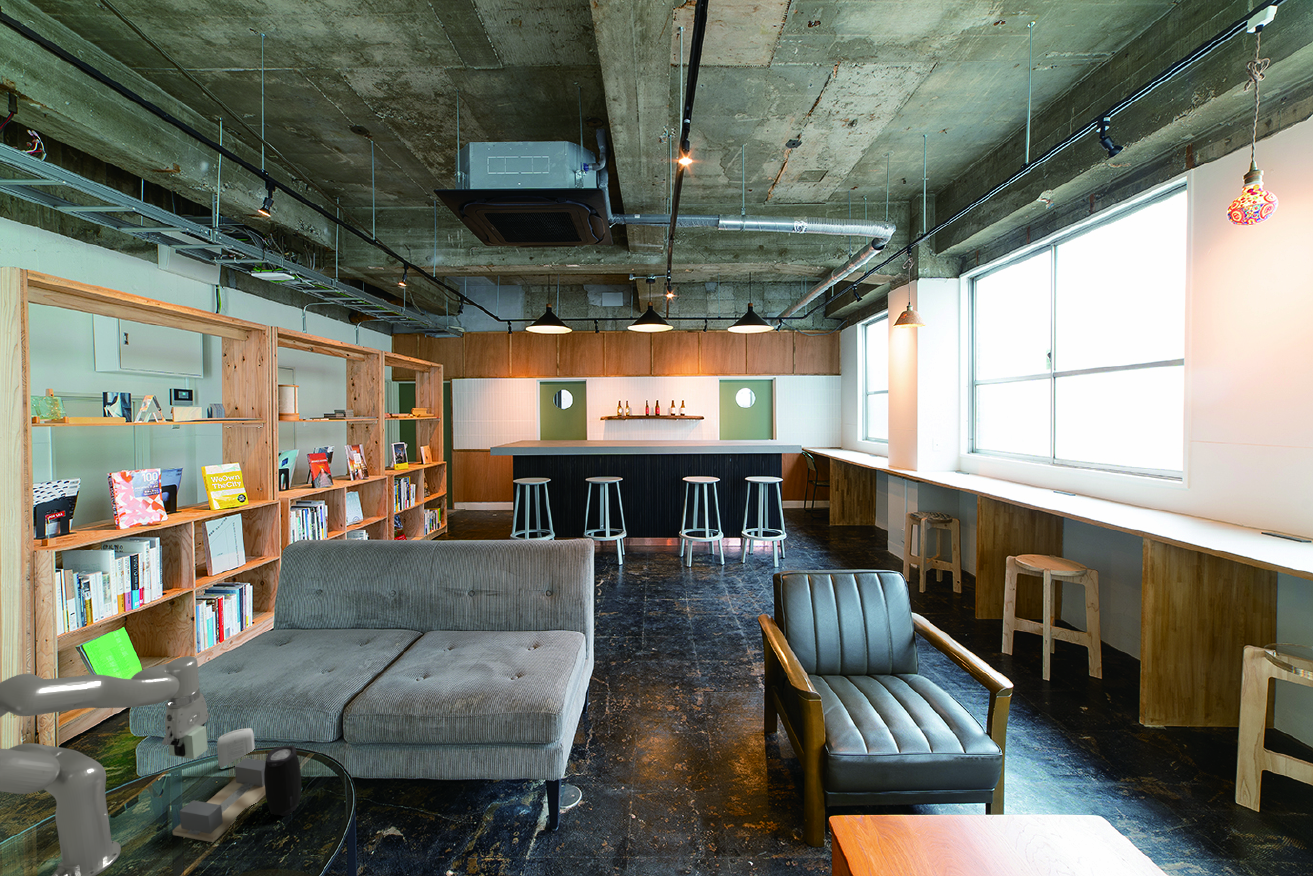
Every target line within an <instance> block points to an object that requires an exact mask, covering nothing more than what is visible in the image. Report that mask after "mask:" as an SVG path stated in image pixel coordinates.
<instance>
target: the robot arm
mask: <svg viewBox="0 0 1313 876" xmlns="http://www.w3.org/2000/svg"><path fill="white" fill-rule="evenodd" d="M199 679H200V678H199V666H198V660H197V658H196V657H194V656H191V655H186V656H181V657H177V658H174V659H173V660H171V661H169V662H166V663H163V664H159V665H154V666H150V667H148V668H145V669H142V670H140V671H138V672H136V673H134V675H133V676H132V677H131V678H122V677H116V676H110V675H106V674H95V673H94V674H85V675H78V676H77V675H76V676H68V677H67V676H66V677H56V678H42V677H40V676H38V675H35V674H33V673H21V674H17V675H13V676H11V677H9V678H7V679H5V680H2V681H1V682H0V718H2V717H3V716H4V715H6V714H8V713H10V714H12V715H14V716H18V717H33V716H40V715H46V714H53V713H59V712H60V713H61V712H68V711H74V710H81V709H111V708H112V709H113V708H114V709H120V708H121V709H123V708H124V709H126V708H138V707H144V706H151V705H157V704H160V703H161V704H162V703H164V702H166V701H167V702H166V703H165V704H164V706H165V708H166V711H165V718H164V730H165V736H164V738H163V740H162V742H161V745H163V746H169V745H174V753H175V755H176V756H175V757H177V756H181V757H180V758H183V756H185V745H184V744H183V737H184V736H186V735H187V734H189V733H191V732H192V731H194V730H195V729H197V728H198V727H200V726H206V725H205V724H206V723H207V721H208V719H210V716H211V714H210V713H208V711H209V710H208V707H207V706H208V705H207V703H206V700H205V697H204V695H203V693H202V692H200V691H201V690H200V680H199ZM171 737H172V740H171ZM177 739H178V741H177ZM105 769H106V768H104V766H103V765H102V764H101V763H100V762H98V761H97V760H96V759H94V758H92V757H90V756H87V755H86V754H84V753H82V752H80V751H77V750H75V749H72V748H65V747H58V746H53V745H47V744H42V743H41V744H40V743H33V742H32V743H31V742H29V743H21V744H17V745H14V746H12V747H10V748H0V792H4V793H11V794H16V795H17V794H18V795H26V794H33V793H36V792H39V791H46V792H48V793H49V794H50V795H51V796H52V797H53V798H54V799H55V801H56V802H55V803H56V806H55V807H56V809H55V812H54V813H55V815H54V816H55V824H56V829H57V835H58V842H59V849H60V854H61V861H59V862H58V864H57V869H56V870H54V871H53V874H52V875H51V876H98V875H99V874H101V873H102V872H104V871H105V870H106V869H108V868H109V867H111V866H112V865H113V864H114V862H116V861H117V859H118V857H119V856H120V855H121V844H120V843H119V842H117V841H114V840H112V835H111V828H110V821H109V813H108V806H107V805H108V804H107V797H106V783H107V782H106V781H107V774H106V773H107V772H106V770H105Z"/></svg>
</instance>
